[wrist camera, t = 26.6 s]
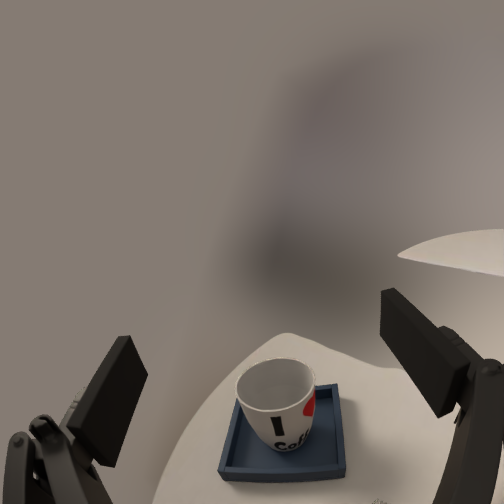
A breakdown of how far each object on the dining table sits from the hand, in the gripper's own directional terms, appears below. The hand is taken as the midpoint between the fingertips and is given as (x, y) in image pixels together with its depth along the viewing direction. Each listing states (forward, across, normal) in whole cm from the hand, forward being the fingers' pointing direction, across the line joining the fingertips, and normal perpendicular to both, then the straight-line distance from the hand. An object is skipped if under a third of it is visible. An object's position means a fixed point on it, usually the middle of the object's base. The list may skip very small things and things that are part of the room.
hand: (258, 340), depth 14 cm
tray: (+10, 0, -23) cm, 25 cm away
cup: (+10, 0, -22) cm, 24 cm away
